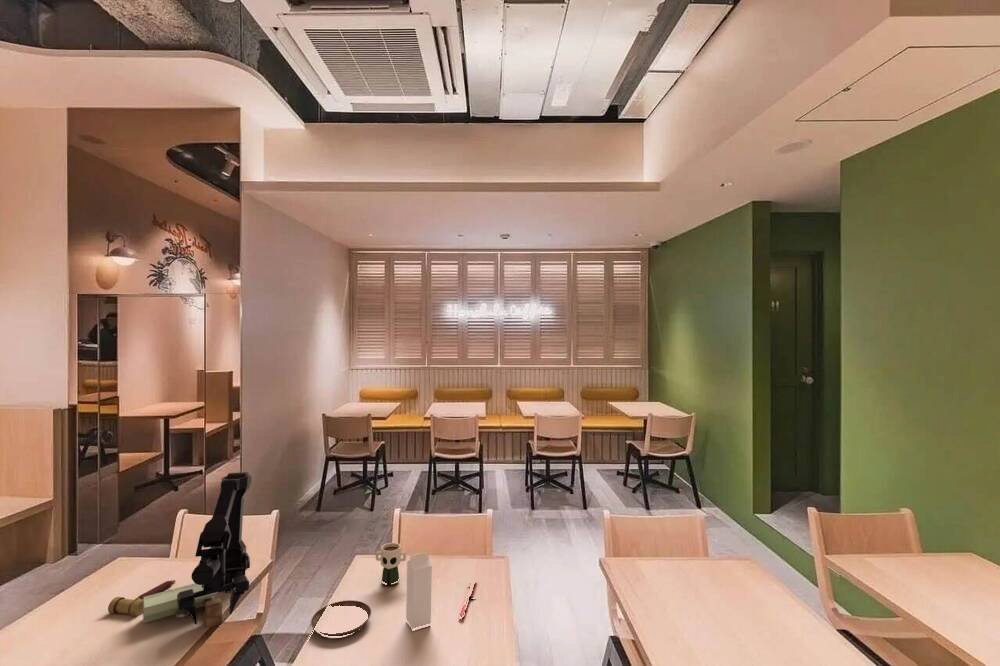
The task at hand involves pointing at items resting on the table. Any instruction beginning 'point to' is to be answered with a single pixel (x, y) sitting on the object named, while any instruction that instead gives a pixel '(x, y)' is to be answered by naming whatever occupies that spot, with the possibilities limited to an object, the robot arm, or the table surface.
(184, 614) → the token
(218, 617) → the pusher tool
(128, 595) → the table surface
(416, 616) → the milk
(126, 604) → the gavel
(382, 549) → the character mug
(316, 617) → the plant saucer
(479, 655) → the table surface
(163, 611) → the plinth shelf
